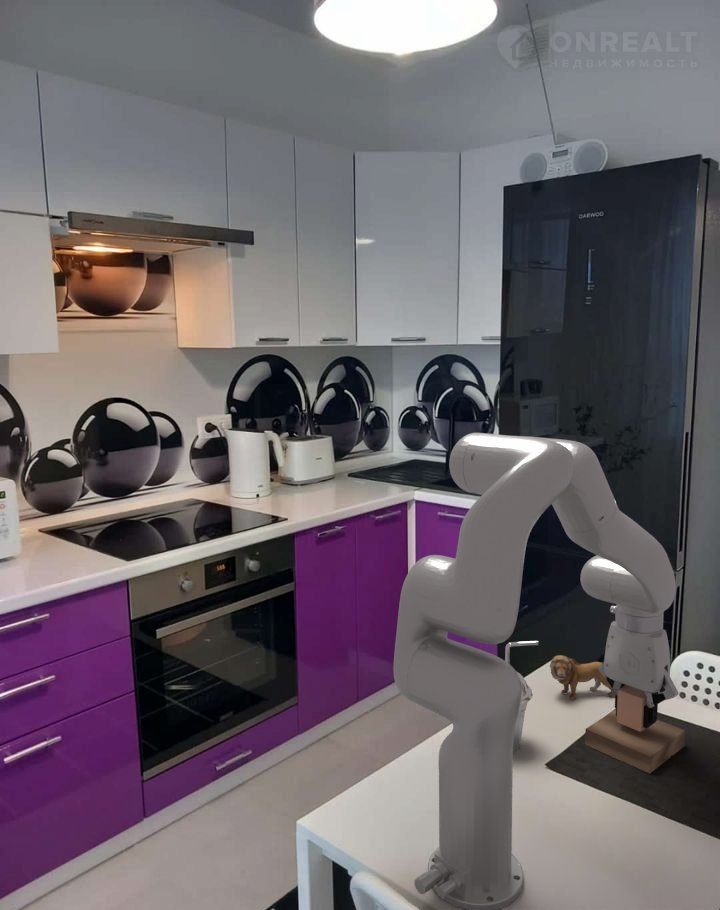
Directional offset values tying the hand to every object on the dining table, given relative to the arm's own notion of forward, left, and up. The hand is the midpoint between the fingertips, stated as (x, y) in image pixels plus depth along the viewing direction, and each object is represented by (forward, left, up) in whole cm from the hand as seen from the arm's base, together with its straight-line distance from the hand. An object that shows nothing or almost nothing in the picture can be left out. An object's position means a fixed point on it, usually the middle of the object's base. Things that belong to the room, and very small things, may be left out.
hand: (635, 718), depth 129 cm
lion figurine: (+9, +16, -5) cm, 19 cm away
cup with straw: (-16, +15, -5) cm, 22 cm away
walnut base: (0, 0, -5) cm, 5 cm away
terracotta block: (0, 0, -1) cm, 1 cm away
